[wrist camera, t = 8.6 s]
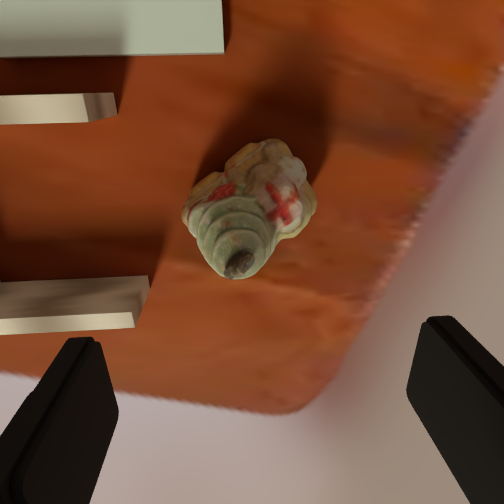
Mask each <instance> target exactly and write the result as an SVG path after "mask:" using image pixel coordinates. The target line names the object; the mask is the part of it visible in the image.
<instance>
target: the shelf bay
mask: <svg viewBox="0 0 504 504" xmlns="http://www.w3.org/2000/svg"><path fill="white" fill-rule="evenodd" d="M116 115H118V114H117V109H116V104H115V98H114V93H75V94H34V95H0V125H1V124H36V123H72V122H91V121H95V120H99V119H103V118H107V117H111V116H116ZM149 291H150V286H149V280H148V275H144V276H124V277H103V278H82V279H62V280H41V281H20V282H1V280H0V335H8V334H26V333H44V332H62V331H80V330H99V329H117V328H135V326H136V323H137V321H138V318H139V316H140V313H141V311H142V308H143V306H144V303H145V301H146V298H147V296H148V293H149Z"/></svg>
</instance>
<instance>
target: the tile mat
mask: <svg viewBox="0 0 504 504" xmlns="http://www.w3.org/2000/svg"><path fill="white" fill-rule="evenodd" d="M206 54H224V35H223V15H222V0H0V58H54V57H105V56H155V55H206Z"/></svg>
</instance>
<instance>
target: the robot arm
mask: <svg viewBox="0 0 504 504" xmlns="http://www.w3.org/2000/svg"><path fill="white" fill-rule="evenodd" d="M406 391H407V397H408V399H409V401H410V403H411V405H412V407H413V408H414V410H415V412H416V413H417V415H418V416H419V418H420V420H421V422H422V423H423V425H424V427H425V428H426V430H427V432H428V433H429V435H430V437H431V438H432V440H433V442H434V443H435V445H436V447H437V448H438V450H439V452H440V454H441V455H442V457H443V458H444V460H445V462H446V463H447V465H448V467H449V469H450V470H451V472H452V474H453V475H454V477H455V479H456V480H457V482H458V484H459V486H460V487H461V489H462V490H463V492H464V494H465V495H466V497H467V499H468V500H469V502H470V504H504V366H503V365H502V364H501V363H499V361H497V359H496V358H495V357H494V356H493V355H491V354H490V353H489V352H488V351H487V350H486V349H485V348H484V347H483V346H482V345H481V344H480V343H479V342H478V341H477V340H476V339H475V338H474V337H473V336H472V335H471V334H470V333H469V332H468V331H467V330H466V329H465V328H464V327H463V326H462V325H461V324H460V323H459V322H458V321H457V320H456V319H455V318H453V317H452V316H432V317H429V318H428V319H427V321H426V322H424V323H422V325H421V329H420V333H419V337H418V342H417V346H416V350H415V354H414V358H413V362H412V367H411V371H410V375H409V379H408V384H407V389H406ZM118 413H119V410H118V405H117V401H116V398H115V394H114V391H113V387H112V383H111V380H110V376H109V372H108V369H107V365H106V361H105V358H104V354H103V350H102V347H101V344H100V342H95V341H94V339H93V338H92V337H77V338H69V339H68V340H67V341H66V342H65V344H64V345H63V347H62V348H61V350H60V351H59V353H58V354H57V356H56V357H55V359H54V360H53V362H52V363H51V365H50V366H49V368H48V369H47V371H46V372H45V374H44V375H43V377H42V378H41V380H40V381H39V383H38V384H37V386H36V388H35V389H34V391H32V392H31V393H30V394H29V395H28V396H27V397H26V399H25V400H24V402H23V403H22V405H21V406H20V408H19V409H18V411H17V412H16V414H15V415H14V417H13V418H12V420H11V421H10V423H9V424H8V426H7V427H6V429H5V430H4V432H3V433H2V434H1V436H0V504H89V503H90V500H91V497H92V494H93V491H94V488H95V485H96V483H97V480H98V477H99V474H100V471H101V468H102V465H103V462H104V459H105V456H106V453H107V450H108V447H109V445H110V442H111V439H112V436H113V433H114V430H115V427H116V424H117V421H118Z"/></svg>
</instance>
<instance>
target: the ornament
mask: <svg viewBox="0 0 504 504" xmlns="http://www.w3.org/2000/svg"><path fill="white" fill-rule="evenodd" d="M306 176H307V171H306V168H305V166H304V164H303V162H302V161H301V160H300V159H299V158H297V157H293V155H292V153H291V151H290V149H289V148H288V146H287V145H286V144H285V143H284V142H283V141H281V140H279V139H266V140H264V141H262V142H260V143H248V144H247V145H245V146H244V147H243V148H241V149H240V150H239V151H238V152H237V153H235V154H234V155H233V156H232V157H231V158H230V159H229V160H228V161H227V162H226V164H225V169H224V172H212V173H211V174H209V175H208V176H206V177H205V178H203V179H202V180H201V181H199V182H198V183H197V184H196V185H195V186H194V187H193V188H192V189H191V190H190V192H189V198H188V200H187V202H186V204H185V206H184V207H183V210H182V221H183V223H184V224H185V225H186V226H187V227H188V229H189V231H190V233H191V234H192V235H193V236H194V237H195V238H196V239H197V244H198V247H199V249H200V251H201V252H202V254H203V255H204V258H205V259H206V261H207V262H208V264H209V265H210V266H211V267H212V268H213V269H214V270H215V271H216V272H217V273H218V274H219V275H221V276H223V277H226V278H227V279H244V278H247V277H250V276H252V275H254V274H255V273H256V272H257V271H258V270H259V269H260V268H261V267H262V266H263V265H264V264H265V263H266V261H267V260H268V258H269V257H270V256H271V254H272V253H273V251H274V249H275V247H276V245H277V243H278V242H279V241H280V240H281V239H284V238H292V237H295V236H296V235H298V234H299V233H300V231H301V230H302V229H303V228H304V227H305V226H306V225H307V223H308V222H309V220H310V217H311V216H312V215H313V214H314V213H315V211H316V208H317V197H316V195H315V192H314V191H313V189H312V188H311V186H310V185H309V183H308V181H307V180H306Z"/></svg>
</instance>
